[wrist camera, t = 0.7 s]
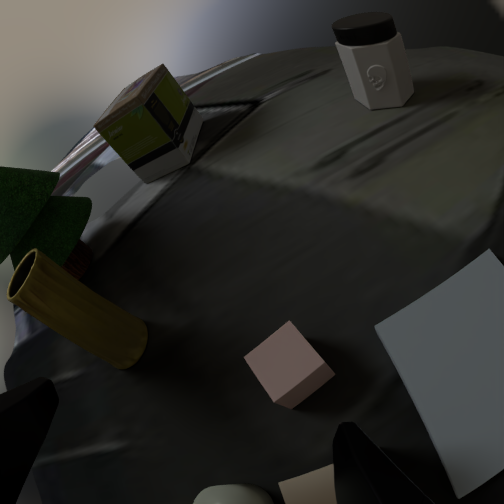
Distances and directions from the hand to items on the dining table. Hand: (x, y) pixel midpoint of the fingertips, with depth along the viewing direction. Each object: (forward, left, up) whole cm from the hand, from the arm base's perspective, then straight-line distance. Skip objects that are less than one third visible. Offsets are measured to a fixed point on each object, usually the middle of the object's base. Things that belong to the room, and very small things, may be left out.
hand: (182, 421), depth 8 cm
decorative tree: (+36, +27, -14) cm, 47 cm away
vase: (+16, +15, -14) cm, 26 cm away
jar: (+33, -27, -14) cm, 45 cm away
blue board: (-1, -13, -14) cm, 19 cm away
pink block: (+5, -1, -14) cm, 15 cm away
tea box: (+51, +5, -15) cm, 53 cm away
